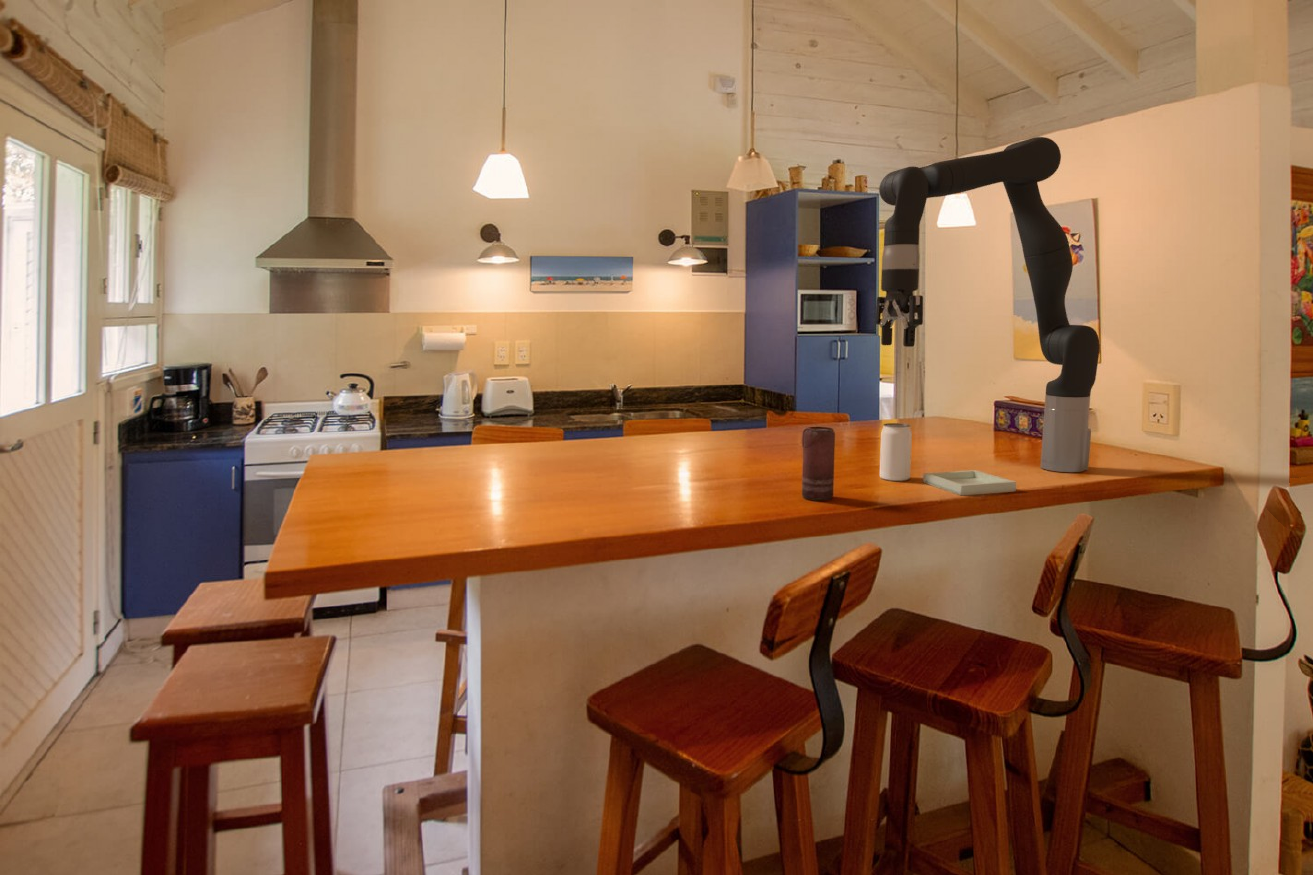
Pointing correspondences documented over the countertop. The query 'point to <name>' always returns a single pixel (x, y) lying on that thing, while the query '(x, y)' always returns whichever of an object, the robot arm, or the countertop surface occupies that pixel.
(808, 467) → the can
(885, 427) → the can
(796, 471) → the countertop surface
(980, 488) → the tray
